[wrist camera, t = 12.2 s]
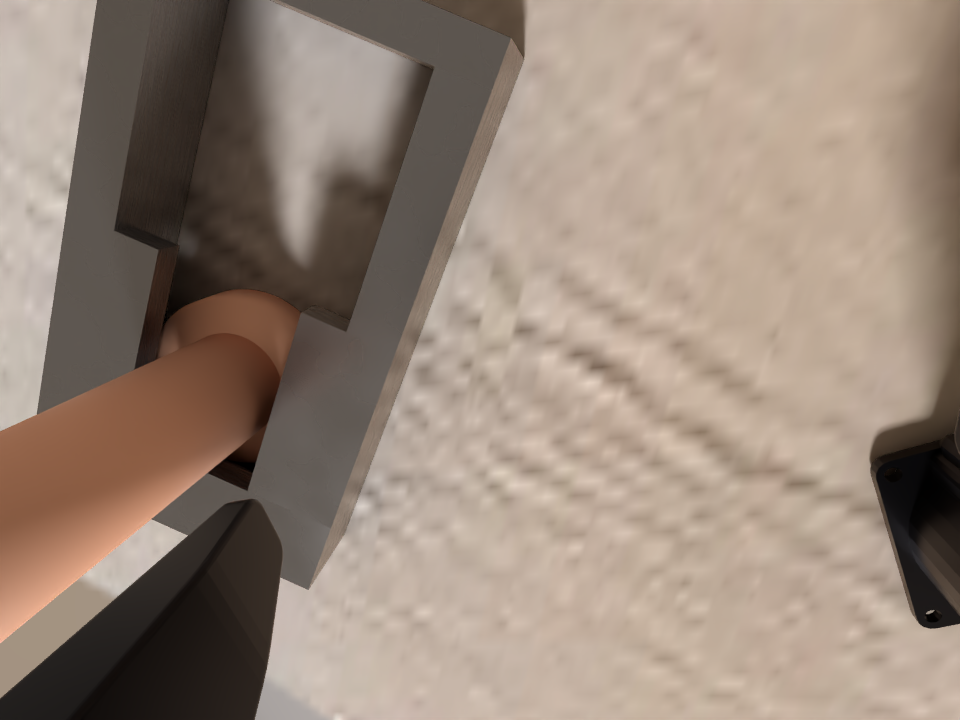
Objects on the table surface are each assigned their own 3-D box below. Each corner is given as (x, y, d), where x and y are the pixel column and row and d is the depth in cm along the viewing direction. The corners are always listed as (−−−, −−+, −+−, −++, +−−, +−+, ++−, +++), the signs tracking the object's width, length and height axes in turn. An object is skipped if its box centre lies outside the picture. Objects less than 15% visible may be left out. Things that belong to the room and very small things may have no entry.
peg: (361, 351, 22) (71, 597, 9) (288, 473, 24) (-29, 805, 11) (216, 255, 21) (-273, 379, 9) (155, 386, 23) (-312, 630, 11)
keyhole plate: (195, -79, 18) (115, -128, 15) (524, 59, 18) (511, 38, 15) (100, 425, 24) (29, 463, 21) (344, 534, 24) (308, 589, 21)
